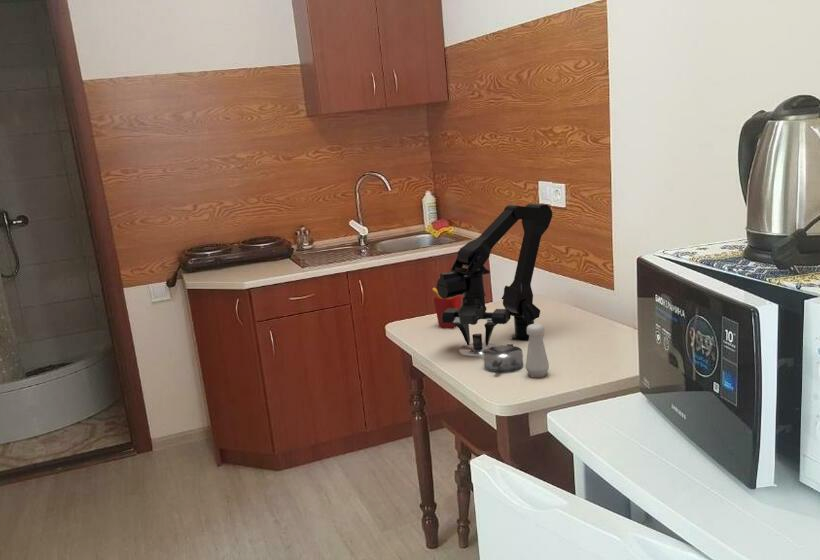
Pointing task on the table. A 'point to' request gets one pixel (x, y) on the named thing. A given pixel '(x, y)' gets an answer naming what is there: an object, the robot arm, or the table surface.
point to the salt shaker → (536, 352)
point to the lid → (475, 347)
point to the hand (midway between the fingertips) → (477, 345)
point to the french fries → (445, 307)
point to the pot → (503, 359)
